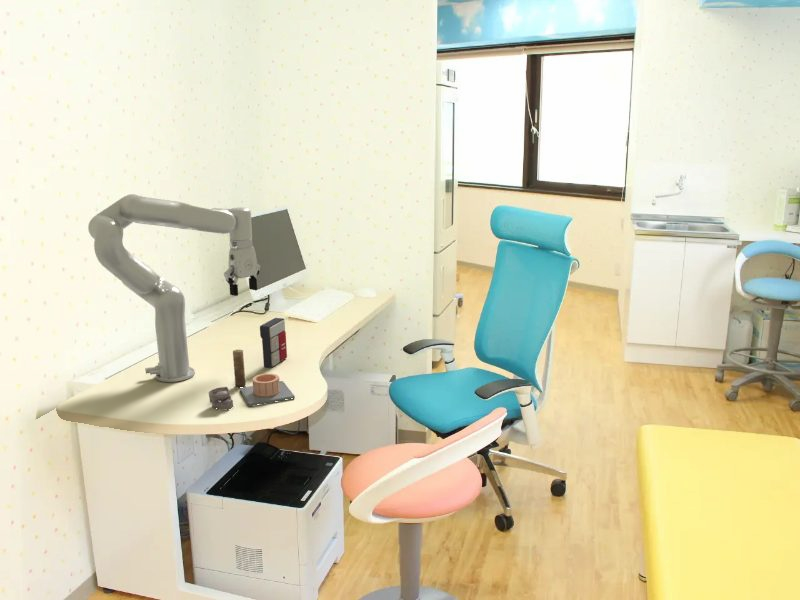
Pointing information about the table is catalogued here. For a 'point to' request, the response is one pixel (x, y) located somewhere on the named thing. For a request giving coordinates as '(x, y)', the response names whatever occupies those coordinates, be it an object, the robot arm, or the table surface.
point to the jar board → (266, 390)
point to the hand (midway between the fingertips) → (243, 292)
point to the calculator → (273, 341)
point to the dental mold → (220, 398)
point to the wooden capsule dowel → (239, 368)
